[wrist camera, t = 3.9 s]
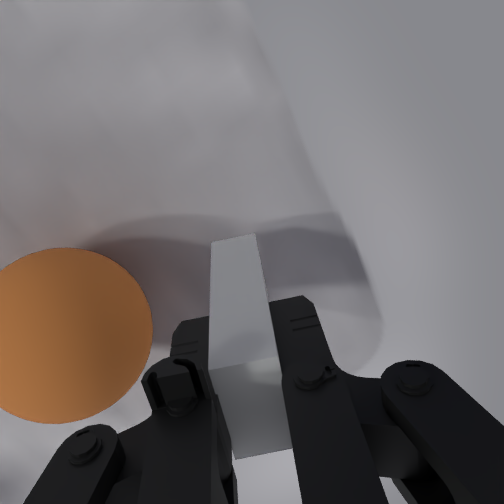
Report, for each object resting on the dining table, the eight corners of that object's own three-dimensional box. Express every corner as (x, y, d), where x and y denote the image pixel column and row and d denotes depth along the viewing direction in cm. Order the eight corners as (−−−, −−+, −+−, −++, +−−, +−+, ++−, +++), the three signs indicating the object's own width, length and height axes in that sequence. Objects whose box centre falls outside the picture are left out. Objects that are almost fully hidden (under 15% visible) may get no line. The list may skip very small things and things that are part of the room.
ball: (44, 361, 19) (-19, 479, 14) (-15, 238, 17) (-117, 328, 12) (177, 335, 19) (162, 445, 14) (137, 208, 16) (101, 286, 11)
